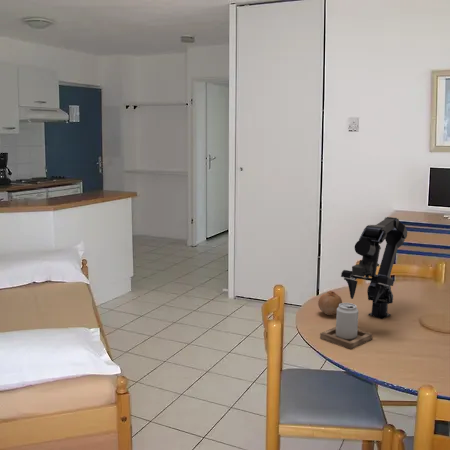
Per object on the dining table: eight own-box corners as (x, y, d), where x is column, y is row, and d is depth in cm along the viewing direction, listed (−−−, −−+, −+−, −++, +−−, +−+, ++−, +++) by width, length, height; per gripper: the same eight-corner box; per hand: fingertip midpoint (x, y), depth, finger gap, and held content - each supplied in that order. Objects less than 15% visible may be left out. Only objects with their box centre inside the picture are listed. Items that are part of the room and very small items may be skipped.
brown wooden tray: (341, 329, 203) (341, 324, 202) (372, 339, 193) (372, 334, 193) (320, 338, 194) (320, 333, 194) (350, 349, 185) (351, 343, 184)
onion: (346, 317, 215) (347, 293, 214) (325, 320, 212) (326, 295, 210) (333, 309, 224) (334, 286, 222) (313, 312, 221) (314, 288, 219)
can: (352, 343, 189) (353, 310, 186) (332, 338, 193) (333, 305, 191) (360, 336, 195) (361, 304, 193) (340, 331, 199) (341, 300, 197)
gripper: (337, 252, 202) (329, 294, 200) (383, 258, 189) (376, 303, 188) (351, 257, 210) (344, 297, 209) (397, 263, 197) (390, 306, 196)
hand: (362, 300), depth 200 cm, fingers open, 9 cm apart
